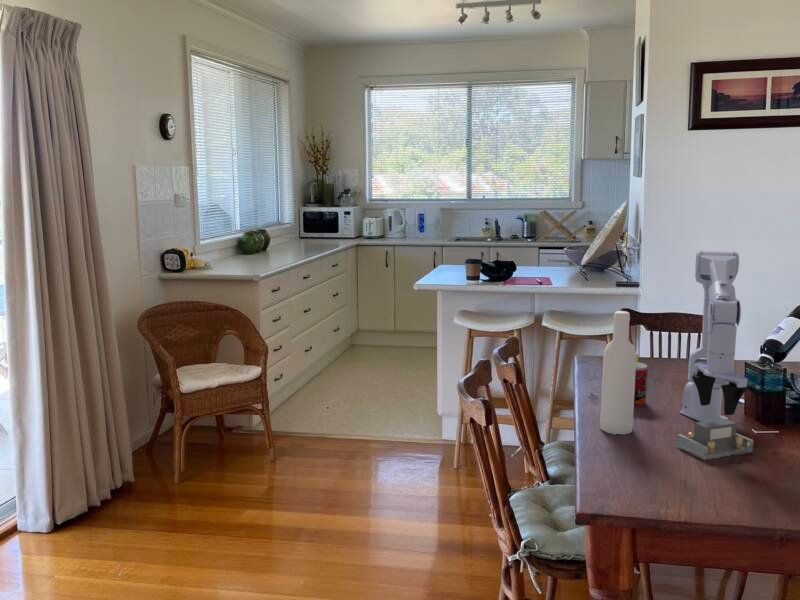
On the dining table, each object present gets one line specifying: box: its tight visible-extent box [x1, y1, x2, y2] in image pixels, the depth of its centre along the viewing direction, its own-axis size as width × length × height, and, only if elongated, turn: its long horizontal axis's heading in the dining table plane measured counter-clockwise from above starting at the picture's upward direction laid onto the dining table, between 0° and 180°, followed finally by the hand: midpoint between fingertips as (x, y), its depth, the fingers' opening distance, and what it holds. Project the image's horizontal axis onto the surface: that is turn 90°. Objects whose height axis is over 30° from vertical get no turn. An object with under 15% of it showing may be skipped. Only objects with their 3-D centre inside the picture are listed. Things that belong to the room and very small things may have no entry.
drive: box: [693, 418, 738, 449], centre depth 176 cm, size 4×9×6 cm, turn 110°
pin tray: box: [675, 431, 754, 461], centre depth 176 cm, size 9×14×4 cm, turn 110°
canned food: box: [634, 361, 649, 407], centre depth 212 cm, size 8×8×11 cm
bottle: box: [599, 310, 637, 436], centre depth 188 cm, size 8×8×30 cm
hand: (716, 409), depth 175 cm, fingers open, 7 cm apart
